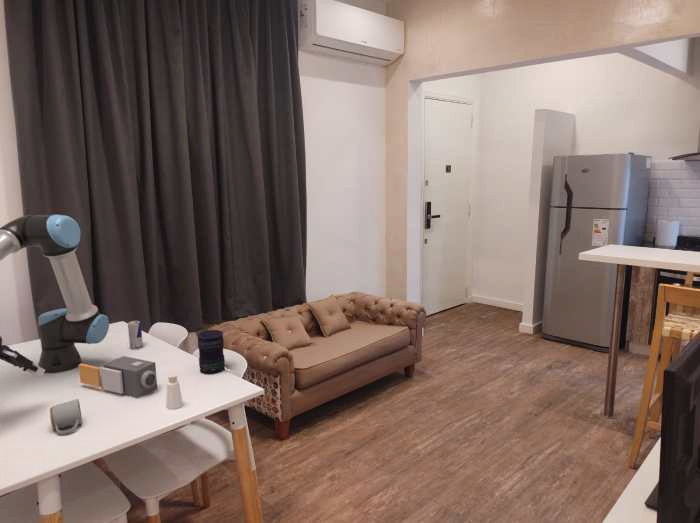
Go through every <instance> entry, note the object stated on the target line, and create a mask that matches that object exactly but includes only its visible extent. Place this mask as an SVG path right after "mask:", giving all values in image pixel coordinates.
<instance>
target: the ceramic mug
mask: <svg viewBox="0 0 700 523" xmlns="http://www.w3.org/2000/svg"><path fill="white" fill-rule="evenodd" d="M81 411H82V410H81V405H80V399H78V398H77V399H73V400H70V401H69V400H68V401H66V402H63V403H59V404H56V405H52V406H51V407H50V408H49V414H50V416H49V417H50V422H51V427H52V428H53V429H54V430H55V432H56V433H57V434H59V435H61V436H66V435H71V434H72V433H74V432H75V431H76V430H77V428H78V425H81V424H83V419H82V418H83V417H82V412H81ZM66 427H72V428H70V429H69V430H65V431H64V430H63V431H62V430H60V429H64V428H66Z"/></svg>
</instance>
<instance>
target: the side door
mask: <svg viewBox="0 0 700 523" xmlns="http://www.w3.org/2000/svg"><path fill="white" fill-rule="evenodd" d="M77 367H78V372H79V374H78V375H79V381H80V383H82V384H84V385H89V386H94V387H96V388H97V387H98V388H100V389H101V390H105V391H106V390H108V391H107V392H110V391H112V392H111V393H114V392H116V394H118V393H120V394H119V395H122V393H124V392H123V381H122V371H118V370H113V369H109V368H104V367H103V365H102V366H101V365H100V366H96V365H95V366H94V365H90V364H86V363H81V364H79V365H78V366H77Z"/></svg>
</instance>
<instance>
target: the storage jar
mask: <svg viewBox="0 0 700 523" xmlns="http://www.w3.org/2000/svg"><path fill="white" fill-rule="evenodd" d="M223 335H224V332H223V331H221V330H219V329H218V330H217V329H210V330H203V331H201V332H199V333H197V348H198V354H199V357H198V365H199V373H201V374H203V375H217V374H220V373H223V372H224V371H225V369H226V367H225V365H226V364H225V363H226V362H225V355H224V347H225V346H224V345H225V343H224V336H223Z"/></svg>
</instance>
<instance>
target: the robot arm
mask: <svg viewBox="0 0 700 523" xmlns="http://www.w3.org/2000/svg"><path fill="white" fill-rule="evenodd" d="M80 241H81V229H80V226H79V224H78V222H77V221H76V220H75V219H73V218H72V217H71V216H68V215H64V214H63V215H62V214H28V215H23V216H20V217H17V218H15V219H13V220H11V221H9V222H6V223H5V224H4V225H2V226H1V227H0V262H1V261H2V260H4V259H5V258H6V257H8V256H9V255H10V254H16V253H18V252H19V251H20V250H23V249H25V248H30V247H31V248H33V247H34V248H40V250H41V254H42V256H44V257H45V258H48V259H49V262H50V264H51V268H52V269H53V273H54V275H55V276H54V277H55V279H56V281H57V284H58V288H59V290H60V293H61V295H62V298H63V301H64V303H65V306H66V308H58V309H53V310H50V311H47V312H44V313H41V314H40V315H39V316H38V318H37V320H38V321H37V322H38V323H37V324H38V325H37V326H38V331H39V339H40V347H41V353H40V357H39V362H38V365H37V364H35V363H34V361H33V360H31V359H29V358H28V357H26V356H24V355H23V354H21V353H20V352H19V351H18V350H13V349H12V348H10V346H8V345H6V344H3V338H2V336H1V335H0V360H2V361H4V362H6V363H8V364H11V365H12V366H14V367H18V368H19V369H22V371H23V372H28V373H30V374H32V375H34V376H36V377H37V378H42V377H43V375H44V373H47V374H48V373H49V374H50V373H52V374H53V373H60V372H65V371H69V370H72V369H74V368H77V367H79V366H78V365H79V364H82V357H81V355H80V353H79V351H78V349H77V347H76V345H75V344H87V345H91V344H99V343H101V342H103V341H104V340H105V338H106V336H107V334H108V332H109V328H110V320H109V318H108V316H107V315H106V314H101V313H100V311H99V308H98V306H97V305H95V304H93V303H92V300H91V297H90V294H89V292H88V288H87V286H86V283H85V280H84V276H83V273H82V270H81V267H80V264H79V261H78V258H77V255H76V251H77V249H78V245H79V243H80Z"/></svg>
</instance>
